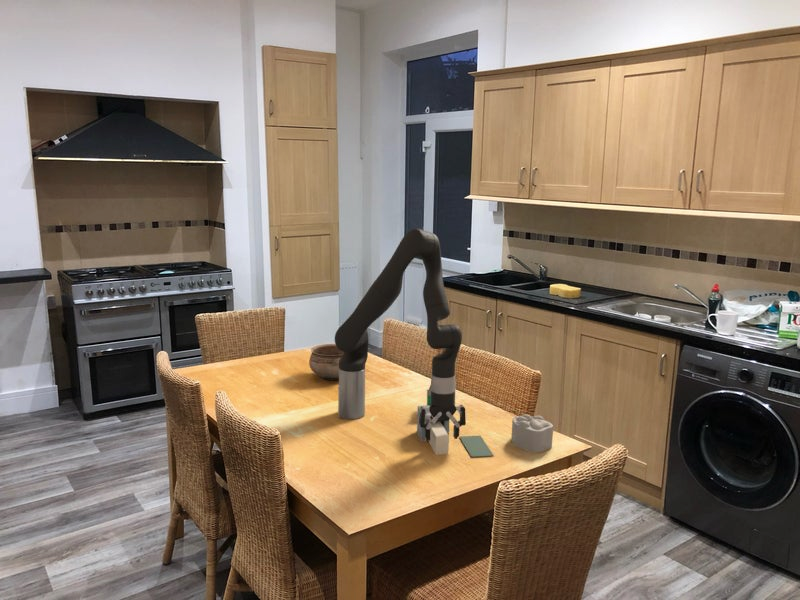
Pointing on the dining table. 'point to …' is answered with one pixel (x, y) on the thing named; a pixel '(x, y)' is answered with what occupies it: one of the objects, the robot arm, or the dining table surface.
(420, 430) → the dispenser sleeve
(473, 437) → the rubber mat
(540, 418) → the lumpy-topped squat cylinder
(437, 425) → the tall cream rectangular prism
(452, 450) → the dining table surface
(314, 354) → the cooking pot
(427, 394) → the food container
